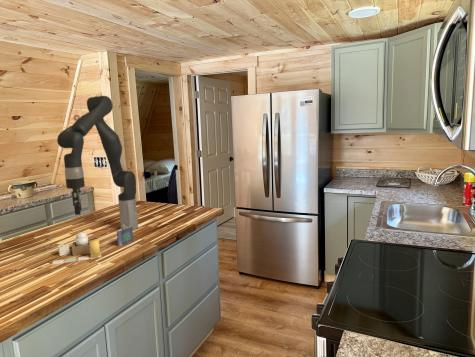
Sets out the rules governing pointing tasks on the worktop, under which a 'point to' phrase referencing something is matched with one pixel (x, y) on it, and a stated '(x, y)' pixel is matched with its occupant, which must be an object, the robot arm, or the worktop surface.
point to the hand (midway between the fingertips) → (78, 212)
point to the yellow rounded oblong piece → (94, 248)
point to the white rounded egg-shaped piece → (81, 239)
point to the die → (63, 249)
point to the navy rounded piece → (124, 235)
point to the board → (77, 253)
